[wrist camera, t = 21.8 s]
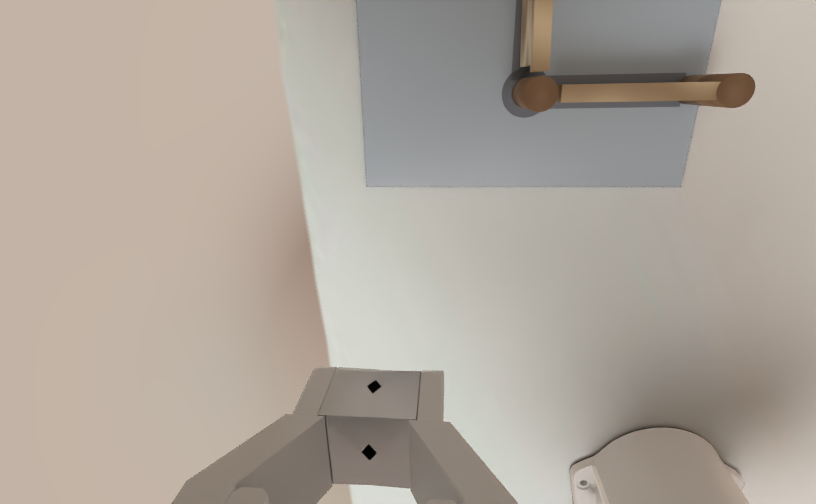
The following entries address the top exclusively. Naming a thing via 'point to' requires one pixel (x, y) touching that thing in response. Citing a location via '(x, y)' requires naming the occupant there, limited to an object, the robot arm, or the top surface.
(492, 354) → the top surface
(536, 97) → the fence fixed panel
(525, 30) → the panel
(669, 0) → the card
